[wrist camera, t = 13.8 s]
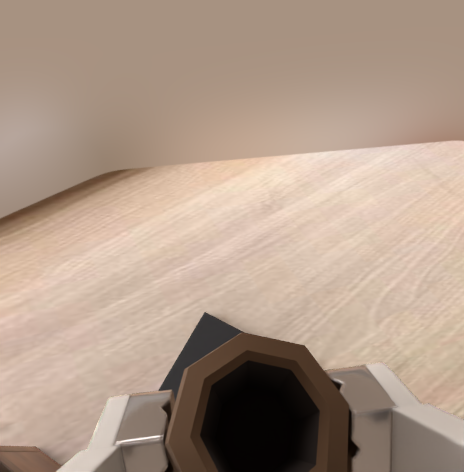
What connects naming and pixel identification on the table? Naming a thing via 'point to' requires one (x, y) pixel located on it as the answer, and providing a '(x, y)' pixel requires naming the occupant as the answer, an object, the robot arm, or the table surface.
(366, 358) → the table surface
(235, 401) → the beer bottle
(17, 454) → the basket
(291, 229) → the table surface
